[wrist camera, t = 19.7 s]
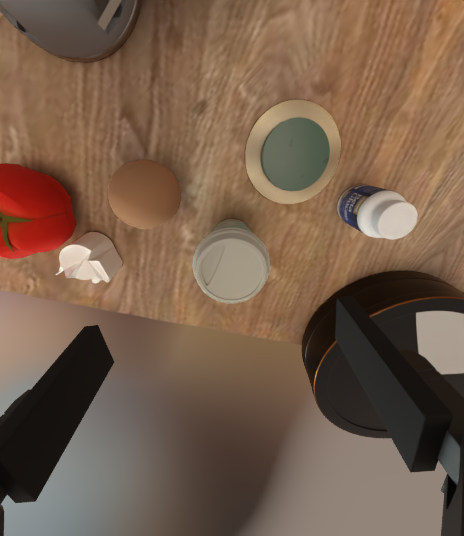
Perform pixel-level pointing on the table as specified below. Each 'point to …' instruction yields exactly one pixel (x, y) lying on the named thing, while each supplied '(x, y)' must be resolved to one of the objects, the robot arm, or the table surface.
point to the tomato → (32, 212)
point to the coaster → (263, 129)
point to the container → (397, 331)
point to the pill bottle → (377, 212)
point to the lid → (295, 154)
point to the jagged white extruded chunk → (90, 258)
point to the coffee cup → (231, 262)
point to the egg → (144, 194)
